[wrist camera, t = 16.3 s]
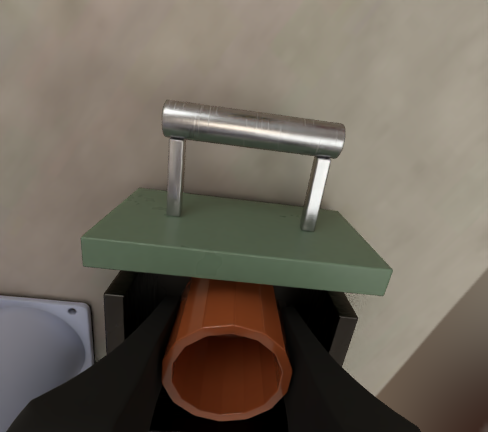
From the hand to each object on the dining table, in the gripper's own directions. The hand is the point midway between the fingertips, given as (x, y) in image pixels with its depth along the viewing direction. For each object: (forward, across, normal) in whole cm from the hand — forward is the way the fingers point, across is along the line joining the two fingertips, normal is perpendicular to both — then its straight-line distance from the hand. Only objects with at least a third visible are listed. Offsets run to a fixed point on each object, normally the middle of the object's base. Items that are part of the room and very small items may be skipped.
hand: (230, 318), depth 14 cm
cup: (+1, 0, 0) cm, 1 cm away
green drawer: (+4, 0, -1) cm, 5 cm away
